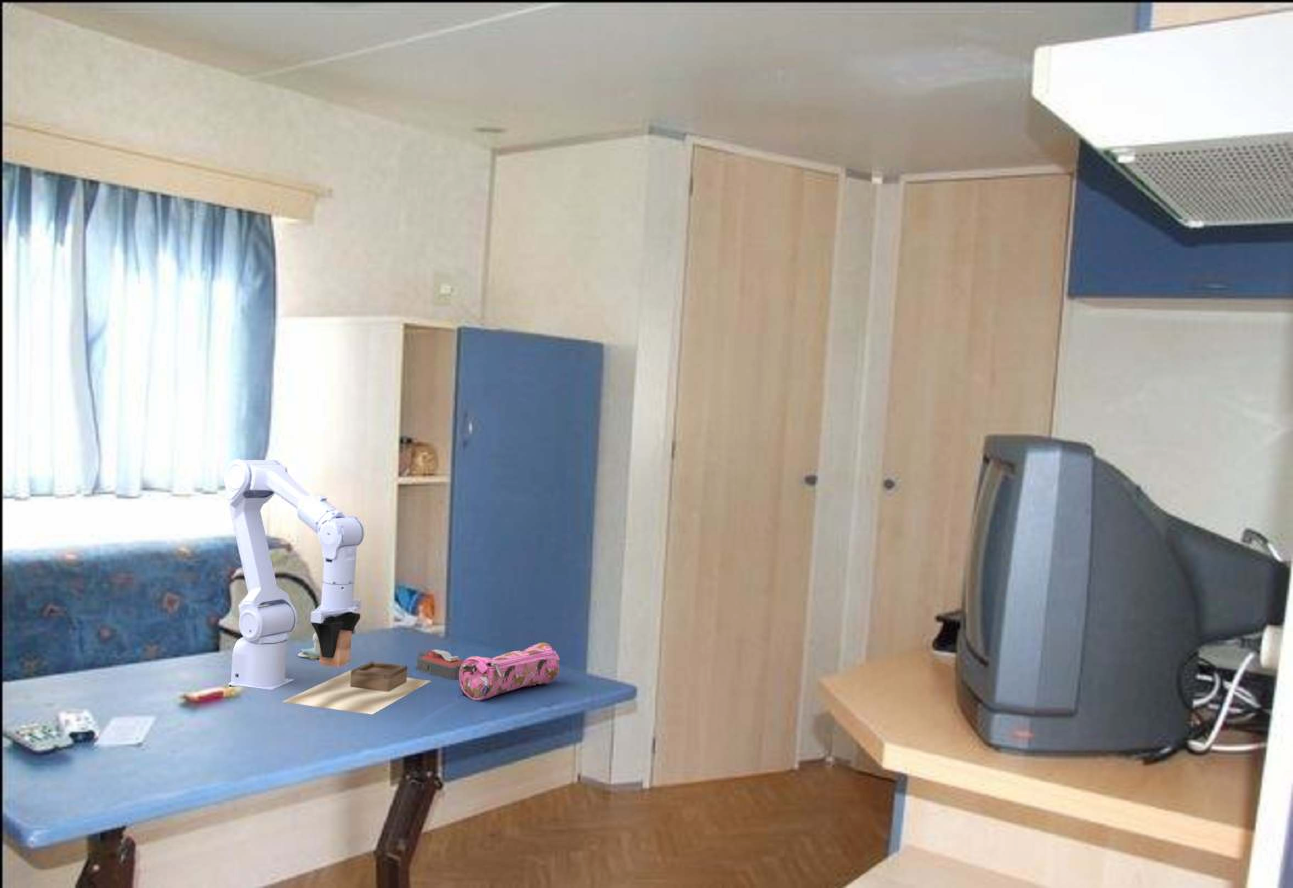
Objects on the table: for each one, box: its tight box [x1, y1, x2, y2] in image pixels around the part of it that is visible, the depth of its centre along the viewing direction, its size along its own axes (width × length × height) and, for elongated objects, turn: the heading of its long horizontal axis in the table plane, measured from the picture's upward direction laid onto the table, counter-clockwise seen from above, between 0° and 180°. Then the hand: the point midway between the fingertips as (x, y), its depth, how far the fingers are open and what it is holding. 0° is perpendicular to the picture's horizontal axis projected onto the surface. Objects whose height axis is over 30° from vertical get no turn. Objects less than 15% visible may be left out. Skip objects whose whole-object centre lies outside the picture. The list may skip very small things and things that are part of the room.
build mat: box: [282, 661, 432, 715], centre depth 197 cm, size 18×25×4 cm
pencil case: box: [458, 642, 561, 702], centre depth 206 cm, size 21×9×9 cm, turn 142°
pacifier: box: [297, 631, 320, 659], centre depth 223 cm, size 7×6×6 cm
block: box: [318, 630, 353, 668], centre depth 190 cm, size 4×4×6 cm
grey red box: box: [416, 648, 465, 681], centre depth 219 cm, size 9×4×20 cm
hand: (334, 654), depth 190 cm, fingers closed on block, 4 cm apart
